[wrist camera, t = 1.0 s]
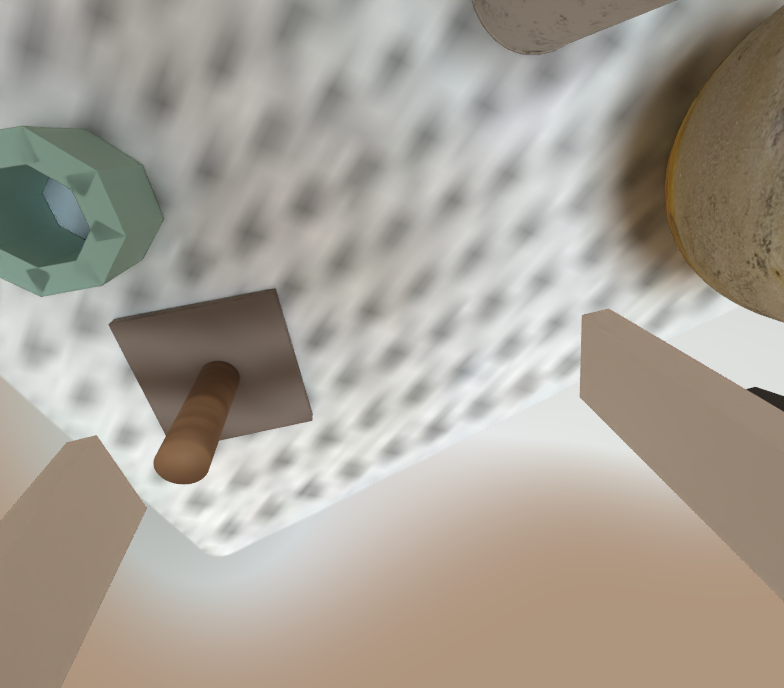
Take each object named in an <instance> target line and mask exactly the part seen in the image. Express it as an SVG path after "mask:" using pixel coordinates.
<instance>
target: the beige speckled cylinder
mask: <svg viewBox="0 0 784 688" xmlns="http://www.w3.org/2000/svg"><path fill="white" fill-rule="evenodd" d="M674 1H676V0H472V2H473V5H474V9H475V11H476V13H477V15H478V17H479V19H480V21H481V22H482V24H483V26H484V28H485V29H486V30H487V31H488V32H489V33H490V35H491V36H492V37H493V38H494V39H495V40H496V41H497V42H499V43H500V44H501V45H503V46H504V47H506V48H507V49H509V50H512V51H515V52H518V53H521V54H528V55H540V54H544V53H548V52H552V51H555V50H557V49H559V48H561V47H563V46H564V45H566V44H568V43H571V42H573V41H576V40H578V39H581V38H583V37H586V36H588V35H591V34H593V33H596V32H598V31H601V30H603V29H606V28H608V27H611V26H613V25H616V24H618V23H621V22H623V21H626V20H628V19H631V18H633V17H636V16H638V15H641V14H643V13H646V12H648V11H651V10H653V9H656V8H659V7H661V6H664V5H666V4H669V3H671V2H674Z"/></svg>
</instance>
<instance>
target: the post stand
mask: <svg viewBox="0 0 784 688" xmlns="http://www.w3.org/2000/svg"><path fill="white" fill-rule="evenodd" d="M108 325H109V327H110V329H111V331H112V332H113V334H114V336H115V338H116V340H117V342H118V344H119V346H120V348H121V350H122V352H123V354H124V356H125V358H126V359H127V361H128V363H129V365H130V367H131V369H132V371H133V373H134V375H135V377H136V379H137V381H138V383H139V385H140V386H141V388H142V390H143V392H144V394H145V396H146V398H147V400H148V402H149V404H150V406H151V408H152V410H153V412H154V413H155V415H156V417H157V419H158V421H159V423H160V425H161V427H162V429H163V431H164V433H165V435H166V437H165V439H164V441H163V443H162V445H161V447H160V448H159V450H158V452H157V454H156V456H155V458H154V468H155V470H156V472H157V473H158V474H159V475H160V476H161V477H162V478H163V479H165V480H167V481H169V482H172V483H176V484H192V483H195V482H198V481H200V480H201V479H203V478H204V477H205V476H206V474H207V473H208V471H209V468H210V465H211V462H212V459H213V456H214V453H215V450H216V448H217V445H218V442H219V440H224V439H229V438H233V437H238V436H243V435H247V434H252V433H257V432H261V431H266V430H271V429H276V428H280V427H285V426H290V425H294V424H299V423H304V422H308V421H312V415H313V414H312V410H311V407H310V404H309V400H308V397H307V394H306V390H305V387H304V383H303V380H302V377H301V373H300V370H299V367H298V363H297V360H296V356H295V353H294V350H293V346H292V343H291V340H290V336H289V333H288V329H287V326H286V323H285V319H284V316H283V313H282V309H281V306H280V302H279V299H278V296H277V292H276V289H271V290H265V291H260V292H255V293H250V294H244V295H239V296H234V297H229V298H223V299H218V300H213V301H208V302H202V303H197V304H192V305H186V306H181V307H176V308H171V309H165V310H160V311H155V312H150V313H144V314H139V315H134V316H129V317H123V318H118V319H114V320H113V321H112V322H111V323H110V324H108Z"/></svg>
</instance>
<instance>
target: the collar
mask: <svg viewBox="0 0 784 688" xmlns="http://www.w3.org/2000/svg"><path fill="white" fill-rule="evenodd" d="M49 177H50V178H52V179H53V180H55V181H57V182H59V183H60V184H62V185H64V186H66V187H68V188H69V189H71V190H72V192H73V194H74V196H75V198H76V200H77V202H78V205H79V207H80V209H81V211H82V213H83V215H84V217H85V219H86V221H87V223H88V225H89V227H90V229H91V230H90V232H89V234H88V237H87V239H86V240H84V239H82V238H81V237H79V236H77V235H75V234H73V233H71V232H69V231H68V230H66V229H64V228H62V227H60V226H59V225H58V223H57V221H56V219H55V217H54V215H53V213H52V212H51V210H50V208H49V206H48V204H47V202H46V200H45V198H44V196H43V194H42V192H43V190H44V187H45V185H46V183H47V180H48V178H49ZM163 219H164V218H163V215H162V213H161V210H160V208H159V205H158V203H157V200H156V198H155V195H154V193H153V190H152V188H151V185H150V183H149V180H148V178H147V175H146V173H145V170H144V167H143V165H142V164H140V163H139V162H137V161H136V160H134V159H132V158H131V157H129V156H128V155H126V154H124V153H123V152H121V151H120V150H118V149H116V148H115V147H113V146H112V145H110V144H109V143H107V142H105V141H104V140H102V139H101V138H99V137H97V136H96V135H94V134H93V133H91V132H89V131H88V130H86V129H71V128H51V127H31V126H19V127H13V128H7V129H0V278H2V279H4V280H6V281H8V282H11V283H13V284H15V285H17V286H19V287H21V288H23V289H25V290H28V291H30V292H32V293H34V294H36V295H38V296H40V297H43V296H49V295H54V294H60V293H65V292H70V291H76V290H81V289H87V288H92V287H97V286H102V285H104V284H105V283H107V282H109V281H110V280H112V279H113V278H115V277H116V276H118V275H119V274H121V273H122V272H124V271H125V270H127V269H128V268H130V267H131V266H133V265H135V264H136V263H138V262H139V261H141V260H142V259H143V258H144V256H145V254H146V252H147V250H148V248H149V246H150V244H151V242H152V240H153V238H154V236H155V234H156V232H157V230H158V229H159V227H160V225H161V223H162V221H163Z"/></svg>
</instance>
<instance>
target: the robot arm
mask: <svg viewBox="0 0 784 688" xmlns="http://www.w3.org/2000/svg"><path fill="white" fill-rule="evenodd" d="M580 398H581V399H582V400H583V401H584V402H585V403H586V404H587V405H588V406H589V407H590V408H591V409H592V410H593V411H594V412H595V413H596V414H597V415H598V416H599V417H600V418H601V419H602V420H603V421H604V422H605V423H606V424H607V425H608V426H609V427H610V428H611V429H612V430H613V431H614V432H615V433H616V434H617V435H618V436H619V437H620V438H621V439H622V440H623V441H624V442H625V443H626V444H627V445H628V446H629V447H630V448H631V449H632V450H633V451H634V452H635V453H636V454H637V455H638V456H639V457H640V458H641V459H642V460H643V461H644V462H645V463H646V464H647V465H648V466H649V467H650V468H651V469H652V470H653V471H654V472H655V473H656V474H657V475H658V476H659V477H660V478H661V479H662V480H663V481H664V482H665V483H666V484H667V485H668V486H669V487H670V488H671V489H672V490H673V491H674V492H675V493H676V494H677V495H678V496H679V497H680V498H681V499H682V500H683V501H684V502H685V503H686V504H687V505H688V506H689V507H690V508H691V509H692V510H693V511H694V512H695V513H696V514H697V515H698V516H699V517H700V518H701V519H702V520H703V521H704V522H705V523H706V524H707V525H708V526H709V527H710V528H711V529H712V530H713V531H714V532H715V533H716V534H717V535H718V536H719V537H720V538H721V539H722V540H723V541H724V542H725V543H726V544H727V545H728V546H729V547H730V548H731V549H732V550H733V551H734V552H735V553H736V554H737V555H738V556H739V557H740V558H741V559H742V560H743V561H744V562H745V563H746V564H747V565H748V566H749V567H750V568H751V569H752V570H753V571H754V572H755V573H756V574H757V575H758V576H759V577H760V578H761V579H762V580H763V581H764V582H765V583H766V584H767V585H768V586H769V587H770V588H771V589H772V590H773V591H774V592H775V593H776V594H777V595H778V596H779V597H780V598H781V599H782V600H783V601H784V396H782V395H778V394H775V393H772V392H770V391H767V390H763V389H760V388H758V387H753V388H749V389H744V388H743V387H741V386H739V385H737V384H736V383H734V382H732V381H731V380H729V379H727V378H725V377H724V376H722V375H721V374H719V373H717V372H715V371H714V370H712V369H710V368H709V367H707V366H705V365H704V364H702V363H700V362H698V361H697V360H695V359H693V358H692V357H690V356H688V355H687V354H685V353H683V352H682V351H680V350H678V349H676V348H675V347H673V346H671V345H670V344H668V343H666V342H665V341H663V340H661V339H659V338H658V337H656V336H654V335H653V334H651V333H649V332H648V331H646V330H644V329H643V328H641V327H639V326H637V325H636V324H634V323H632V322H631V321H629V320H627V319H626V318H624V317H622V316H621V315H619V314H617V313H615V312H614V311H612V310H610V309H605V310H601V311H597V312H593V313H589V314H585V315H582V332H581V369H580ZM146 508H147V507H146V506H145V505H144V503H143V502H142V500H141V499H140V497H139V496H138V494H137V493H136V492H135V490H134V489H133V487H132V486H131V484H130V483H129V481H128V480H127V478H126V477H125V476H124V474H123V473H122V471H121V470H120V468H119V467H118V465H117V464H116V463H115V461H114V460H113V458H112V457H111V455H110V454H109V452H108V451H107V450H106V448H105V447H104V445H103V444H102V442H101V441H100V439H99V438H98V436H97V435H95V436H91V437H87V438H83V439H79V440H75V441H71V442H67V443H66V444H65V445H64V446H63V448H62V449H61V450H60V451H59V452H58V454H57V455H56V456H55V457H54V458H53V459H52V460H51V462H50V463H49V464H48V465H47V466H46V468H45V469H44V470H43V471H42V472H41V473H40V475H39V476H38V477H37V478H36V479H35V481H34V482H33V483H32V484H31V485H30V487H29V488H28V489H27V490H26V491H25V492H24V493H23V495H22V496H21V497H20V498H19V499H18V501H17V502H16V503H15V504H14V505H13V506H12V508H11V509H10V510H9V511H8V512H7V513H6V515H5V516H4V517H3V518H2V519H1V521H0V688H61V686H62V684H63V682H64V680H65V678H66V676H67V674H68V672H69V670H70V667H71V666H72V664H73V661H74V659H75V657H76V655H77V653H78V651H79V649H80V647H81V645H82V643H83V640H84V638H85V636H86V634H87V632H88V630H89V628H90V626H91V624H92V622H93V620H94V618H95V615H96V613H97V611H98V609H99V607H100V605H101V603H102V601H103V599H104V597H105V594H106V592H107V590H108V588H109V586H110V584H111V582H112V580H113V578H114V576H115V574H116V572H117V570H118V567H119V565H120V563H121V561H122V559H123V557H124V555H125V553H126V551H127V549H128V547H129V545H130V542H131V540H132V538H133V536H134V534H135V532H136V530H137V528H138V526H139V524H140V522H141V520H142V517H143V515H144V513H145V511H146Z"/></svg>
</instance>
